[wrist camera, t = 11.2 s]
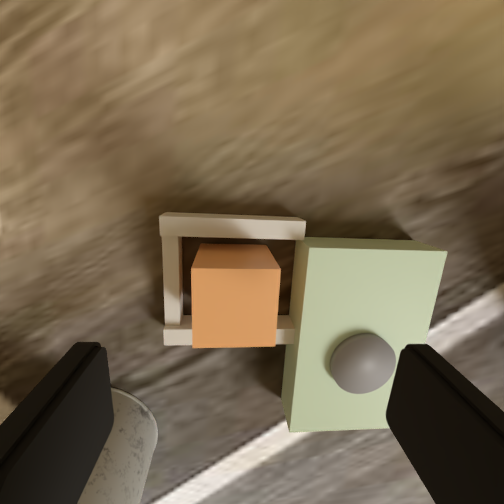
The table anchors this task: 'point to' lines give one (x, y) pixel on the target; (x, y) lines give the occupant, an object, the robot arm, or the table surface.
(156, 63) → the table surface
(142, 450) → the speckled stone cylinder
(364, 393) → the green plate with dome
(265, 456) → the table surface
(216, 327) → the matte orange cube
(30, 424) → the robot arm
